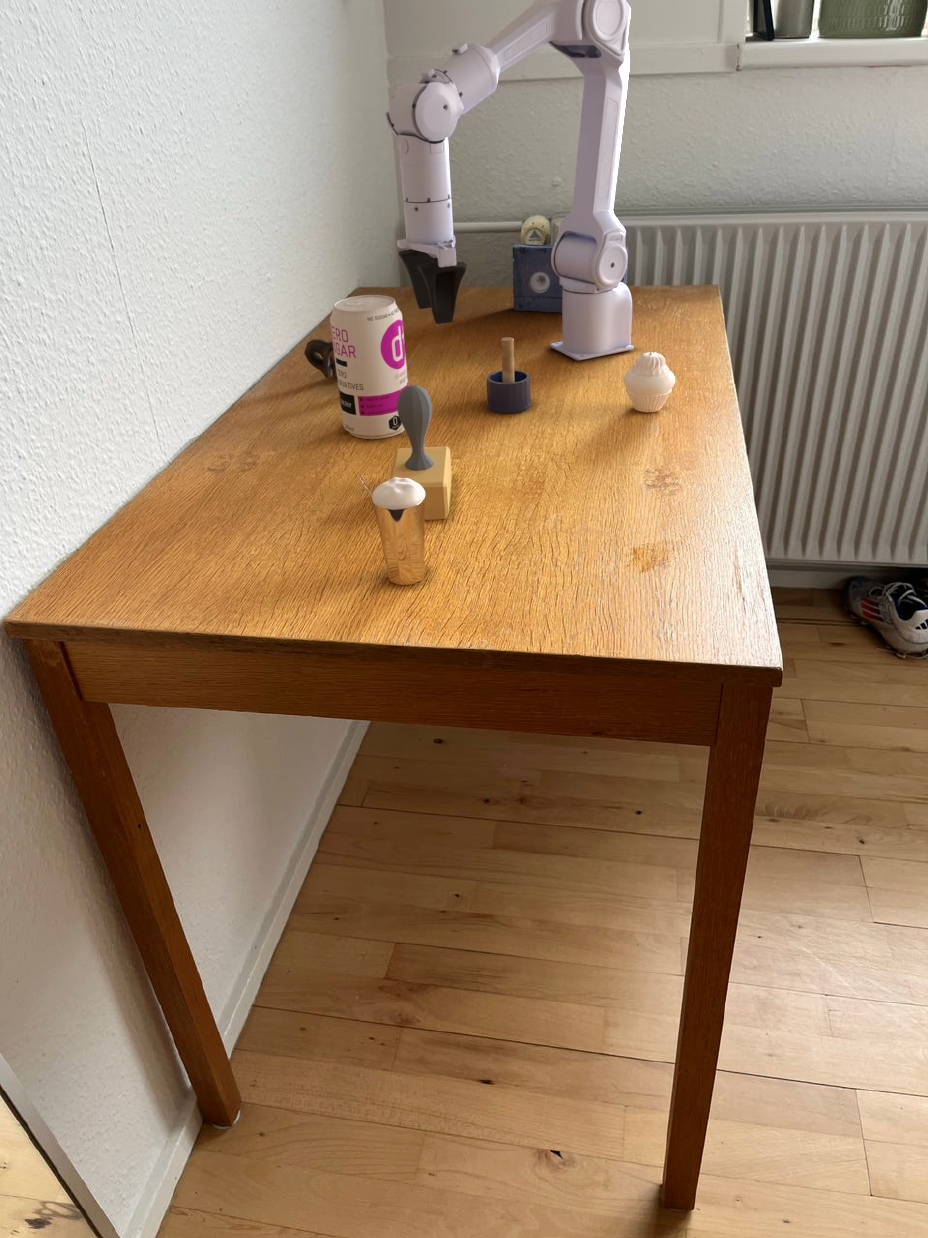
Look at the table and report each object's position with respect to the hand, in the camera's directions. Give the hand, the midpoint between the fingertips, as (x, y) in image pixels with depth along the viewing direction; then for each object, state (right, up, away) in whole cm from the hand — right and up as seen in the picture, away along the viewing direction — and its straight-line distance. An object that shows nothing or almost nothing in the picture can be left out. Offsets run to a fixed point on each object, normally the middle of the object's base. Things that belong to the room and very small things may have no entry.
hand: (435, 314), depth 120 cm
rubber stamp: (-1, -26, -21) cm, 34 cm away
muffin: (+26, -13, -3) cm, 29 cm away
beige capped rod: (+9, -11, 0) cm, 15 cm away
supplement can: (-7, -15, -4) cm, 17 cm away
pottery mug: (-12, -6, +11) cm, 17 cm away
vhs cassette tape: (+21, +12, +35) cm, 43 cm away
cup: (+9, -12, 0) cm, 15 cm away
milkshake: (-2, -35, -35) cm, 49 cm away
